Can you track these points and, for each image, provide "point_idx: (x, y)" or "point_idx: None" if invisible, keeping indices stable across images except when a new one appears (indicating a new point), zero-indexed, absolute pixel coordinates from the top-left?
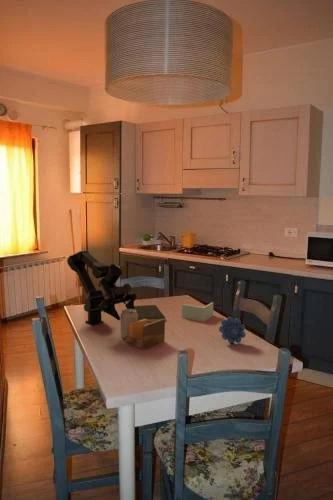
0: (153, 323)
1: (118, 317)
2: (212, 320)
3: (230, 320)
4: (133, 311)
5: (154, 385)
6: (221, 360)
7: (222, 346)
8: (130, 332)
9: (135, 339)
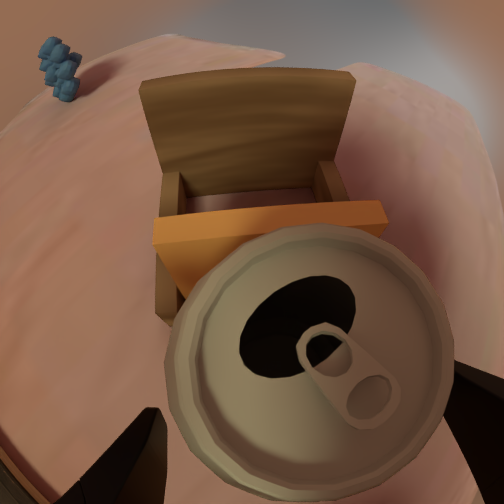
0: (266, 68)
1: (464, 368)
2: None
3: (60, 39)
4: (238, 338)
5: (391, 75)
6: (185, 57)
7: (99, 94)
8: None
9: None
